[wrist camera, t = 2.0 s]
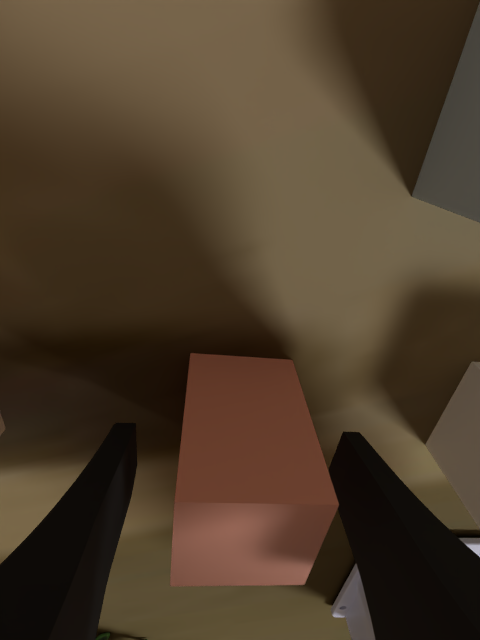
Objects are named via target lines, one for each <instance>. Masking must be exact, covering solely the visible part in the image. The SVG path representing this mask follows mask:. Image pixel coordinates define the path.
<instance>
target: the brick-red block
mask: <svg viewBox="0 0 480 640" xmlns="http://www.w3.org/2000/svg"><path fill="white" fill-rule="evenodd" d="M338 506H339V503H338V500H337V497H336V494H335V490H334V487H333V484H332V481H331V478H330V475H329V472H328V469H327V466H326V463H325V459H324V456H323V453H322V450H321V447H320V444H319V441H318V438H317V435H316V432H315V428H314V425H313V422H312V419H311V416H310V413H309V410H308V407H307V404H306V401H305V397H304V394H303V391H302V388H301V385H300V382H299V379H298V376H297V373H296V370H295V366H294V363H293V360H288V359H273V358H258V357H242V356H227V355H212V354H197V353H190V362H189V371H188V380H187V390H186V399H185V408H184V417H183V427H182V436H181V445H180V455H179V464H178V473H177V482H176V492H175V501H174V519H173V539H172V559H171V579H170V586H250V585H305V582H306V580H307V578H308V575H309V573H310V571H311V568H312V566H313V564H314V562H315V559H316V557H317V555H318V552H319V550H320V548H321V545H322V543H323V541H324V539H325V536H326V534H327V532H328V529H329V527H330V525H331V522H332V520H333V518H334V516H335V513H336V511H337V509H338Z"/></svg>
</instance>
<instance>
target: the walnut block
mask: <svg viewBox="0 0 480 640" xmlns="http://www.w3.org/2000/svg"><path fill="white" fill-rule="evenodd" d="M4 430H5V426H4V422H3V419H2V415H1V412H0V436H1V434H2V433H3V432H4Z"/></svg>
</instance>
